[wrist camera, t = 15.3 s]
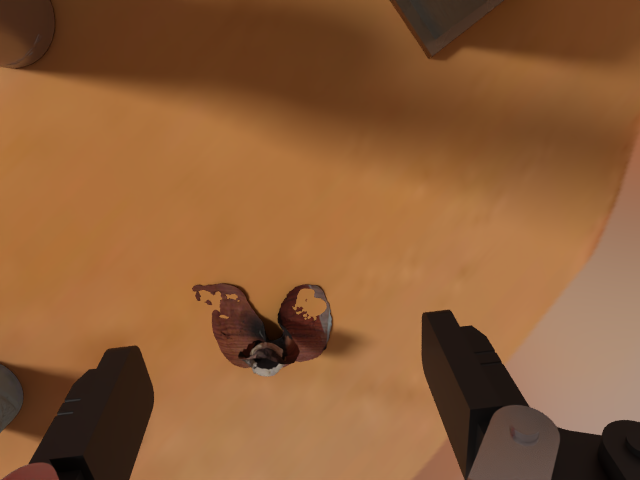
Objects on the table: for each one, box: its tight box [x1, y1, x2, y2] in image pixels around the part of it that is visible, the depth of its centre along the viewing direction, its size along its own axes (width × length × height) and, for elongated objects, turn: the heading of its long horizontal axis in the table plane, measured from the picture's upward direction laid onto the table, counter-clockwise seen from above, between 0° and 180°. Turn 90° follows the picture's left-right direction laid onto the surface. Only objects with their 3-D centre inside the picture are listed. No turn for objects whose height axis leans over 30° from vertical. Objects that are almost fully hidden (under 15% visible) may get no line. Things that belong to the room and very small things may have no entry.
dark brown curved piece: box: [192, 284, 332, 376], centre depth 49 cm, size 11×12×15 cm
